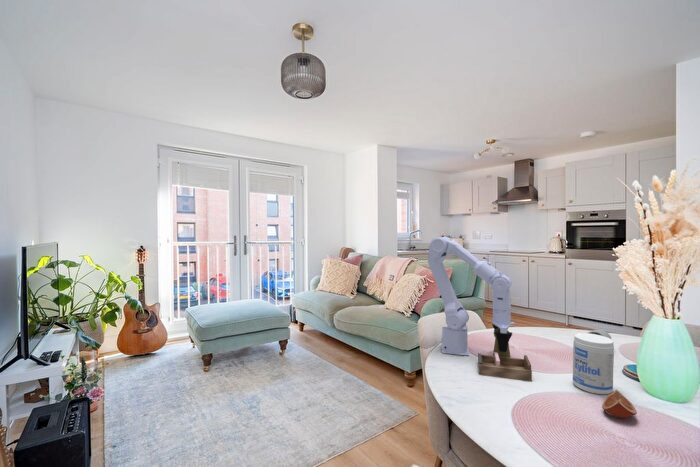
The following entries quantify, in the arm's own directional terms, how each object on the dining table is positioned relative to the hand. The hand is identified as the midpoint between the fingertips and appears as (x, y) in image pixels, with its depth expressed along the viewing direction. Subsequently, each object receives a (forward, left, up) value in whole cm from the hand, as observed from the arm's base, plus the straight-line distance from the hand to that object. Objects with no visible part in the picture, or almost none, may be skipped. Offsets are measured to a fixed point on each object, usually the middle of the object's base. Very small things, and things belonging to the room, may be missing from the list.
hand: (501, 347), depth 118 cm
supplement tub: (+23, -14, -5) cm, 27 cm away
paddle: (-2, -10, -4) cm, 11 cm away
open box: (0, -10, -4) cm, 11 cm away
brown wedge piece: (+24, -29, -5) cm, 38 cm away
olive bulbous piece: (0, 0, -5) cm, 5 cm away
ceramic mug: (+35, +23, -5) cm, 42 cm away
